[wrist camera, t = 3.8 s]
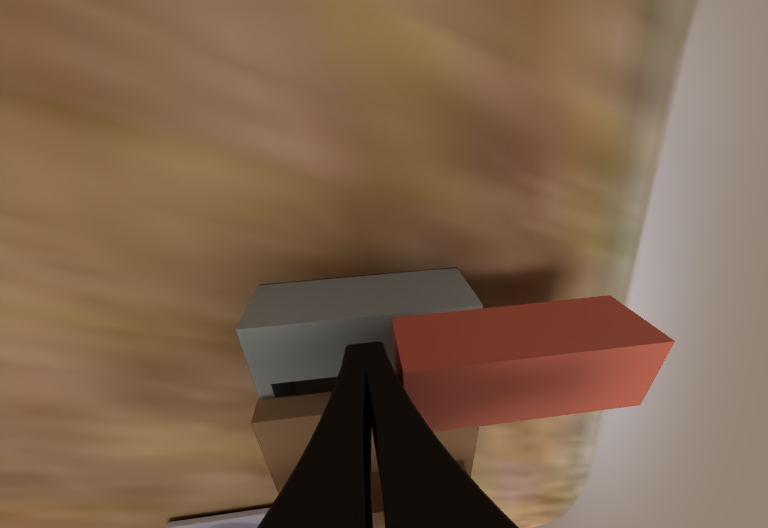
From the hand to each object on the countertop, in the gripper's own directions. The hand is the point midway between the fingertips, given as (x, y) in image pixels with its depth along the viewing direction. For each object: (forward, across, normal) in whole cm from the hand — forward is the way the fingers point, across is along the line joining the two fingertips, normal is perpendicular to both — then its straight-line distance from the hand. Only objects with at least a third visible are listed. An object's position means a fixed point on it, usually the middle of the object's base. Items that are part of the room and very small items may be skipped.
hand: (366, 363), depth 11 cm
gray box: (+4, 0, +6) cm, 7 cm away
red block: (+1, -5, 0) cm, 5 cm away
